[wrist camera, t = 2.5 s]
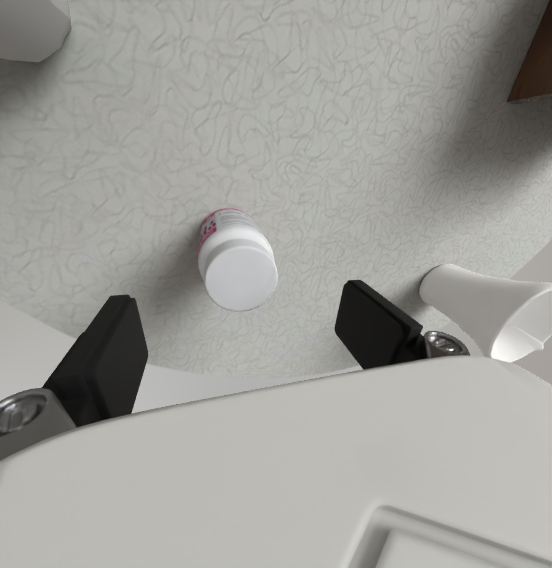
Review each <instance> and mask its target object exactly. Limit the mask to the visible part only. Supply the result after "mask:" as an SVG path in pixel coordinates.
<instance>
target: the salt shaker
mask: <svg viewBox="0 0 552 568" xmlns="http://www.w3.org/2000/svg"><path fill="white" fill-rule="evenodd" d="M70 30H71V18H70V10H69V3H68V0H0V58H1V59H5V60H14V61H28V62H41V61H42V60H44V59H46V58H47V57H49V56H51V54H53V53H54V52H56V51H57V50H59V49H61V47H62V45H63V42H64V39H65V36H66V35H67V34H68V32H69V31H70Z"/></svg>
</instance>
